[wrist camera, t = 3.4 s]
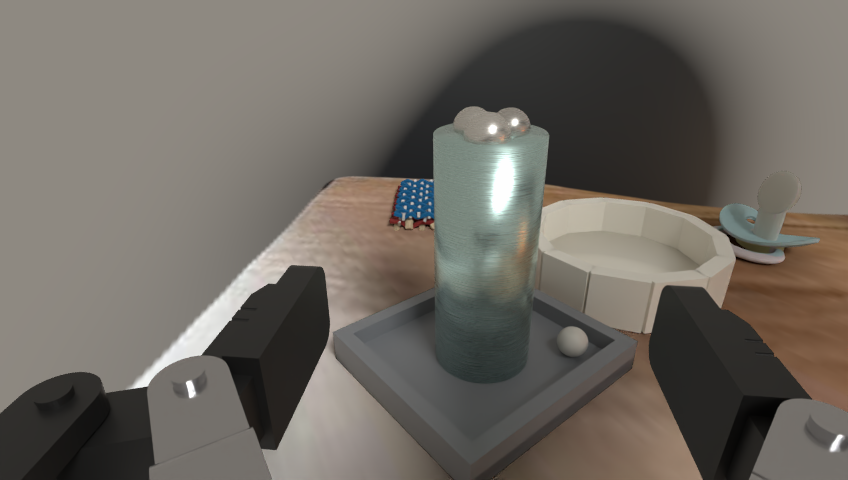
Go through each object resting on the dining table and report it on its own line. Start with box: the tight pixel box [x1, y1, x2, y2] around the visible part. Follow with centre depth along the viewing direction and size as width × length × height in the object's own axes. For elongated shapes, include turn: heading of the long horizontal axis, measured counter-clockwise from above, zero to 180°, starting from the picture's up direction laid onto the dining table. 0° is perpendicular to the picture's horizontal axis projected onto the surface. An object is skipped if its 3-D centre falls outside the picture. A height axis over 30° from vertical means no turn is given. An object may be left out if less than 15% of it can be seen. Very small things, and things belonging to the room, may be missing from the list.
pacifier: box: [713, 171, 820, 264], centre depth 38 cm, size 7×6×6 cm
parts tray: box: [333, 287, 638, 480], centre depth 26 cm, size 12×11×3 cm
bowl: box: [535, 197, 736, 334], centre depth 34 cm, size 13×13×4 cm
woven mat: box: [390, 179, 434, 231], centre depth 47 cm, size 10×11×2 cm
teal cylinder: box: [433, 107, 549, 384], centre depth 24 cm, size 5×5×13 cm
